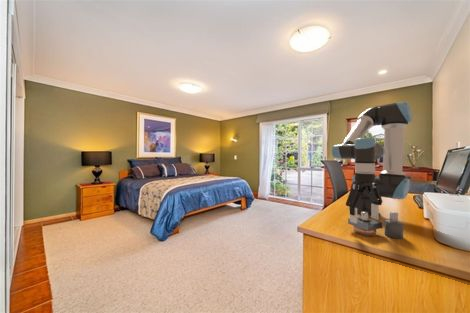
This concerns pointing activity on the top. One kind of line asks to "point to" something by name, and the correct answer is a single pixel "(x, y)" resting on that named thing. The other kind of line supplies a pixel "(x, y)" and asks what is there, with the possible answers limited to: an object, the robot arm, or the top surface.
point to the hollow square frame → (366, 224)
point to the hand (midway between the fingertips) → (364, 220)
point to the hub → (361, 231)
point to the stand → (394, 227)
